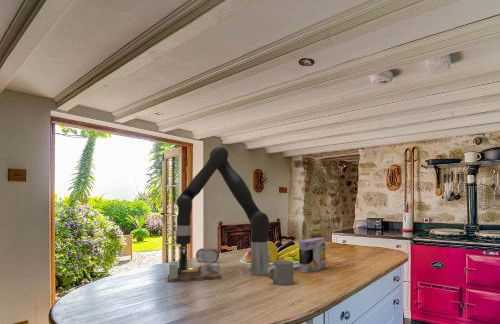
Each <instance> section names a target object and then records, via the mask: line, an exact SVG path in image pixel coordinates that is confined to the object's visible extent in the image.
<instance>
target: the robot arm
mask: <svg viewBox="0 0 500 324" xmlns="http://www.w3.org/2000/svg"><path fill="white" fill-rule="evenodd" d="M228 157H229V152H228V149H227V148H226V147H224V146H216V147H214V148H213V149H212V150H211V152H210V153H209V158H208V160H207V162H206V163H205V164H204V166H202V169H200V171H198V173H197V174H196V175H195V176H194V178H192V180H191V181H190V182H189V184H188V185H187V187H186V188H185V189H184V190H183V191H182V192H181V193H180V195H178V197H177V199H176V206H177V207H178V208H177V210H178V212H177V216H176V229H175V244H176V245H180V246H179V247H178V250H179V259H181V269H185V262H186V258H187V256H188V255H187V254H188V247H187V245H189V244H191V242H192V238H191V237H192V235H191V234H192V229H191V224H192V221H191V214H192V207H193V204H192V203H193V202H192V201H193V200H194V199H195V198H196V197H197V196H198V195H199V194H200V192H202V190H203V189H204V188H205V186H206V184H207V183H208V181H210V179H211V177H212V176H213V174H214V173H215V172H216V171H218V172H219V174H220V175H221V177H222V179H223V180H224V182H225V184H226V185H227V187H228V189H229V190H230V193H231V194H232V195H233V197H234V198H235V200H236V202H238V204H239V206H240V207H241V208H242V210H243V211H244V212H245V215H246V217H247V220H248V222H249V223H250V225H251V226H252V228H251V230H252V231H251V233H252V234H251V237H250V274H251V275H252V276H268V275H267V271H268V268H269V267H270V255H269V249H268V248H269V244H268V243H269V241H268V239H269V235H270V234H269V233H270V232H269V231H270V220H269V217H268V215H267V214H266V213H265V212H262V211H261V210H260V209H259V208H258V205H257V204H256V203H255V201H254V199H253V196H252V193H251V191H250V188H249V186H248V185H247V184H246V182H245V181H244V179H243V177H242V176H240V174H239V173H238V172H237V171H236V170H234V168H233V167H232V166H231V164H230V162H229V160H228ZM182 258H185V259H182Z"/></svg>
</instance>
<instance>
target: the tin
mask: <svg viewBox="0 0 500 324" xmlns="http://www.w3.org/2000/svg"><path fill="white" fill-rule="evenodd" d="M195 258H196V260H197V261H198V262H200V263H215V262H217V261H218V260H219V258H220V252H219V251H218V250H217V249H215V248H205V247H204V248H200V249H197V251H196V252H195Z"/></svg>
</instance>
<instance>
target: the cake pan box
mask: <svg viewBox="0 0 500 324" xmlns="http://www.w3.org/2000/svg"><path fill="white" fill-rule="evenodd" d="M298 254H299V255H298V258H299V261H298V262H299V264H298V265H299V269H298V271H299V273H302V274H308V273H312V272H315V271H316V272H317V271H321V270H324V269H326V238H325V237H319V236H318V237H315V238H307V239H300V240H299V241H298Z"/></svg>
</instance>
